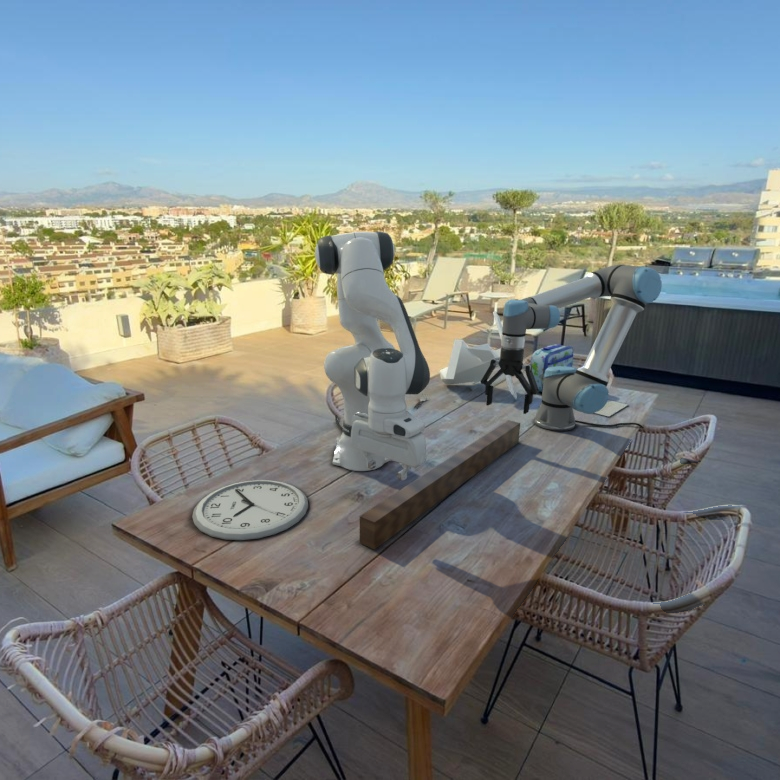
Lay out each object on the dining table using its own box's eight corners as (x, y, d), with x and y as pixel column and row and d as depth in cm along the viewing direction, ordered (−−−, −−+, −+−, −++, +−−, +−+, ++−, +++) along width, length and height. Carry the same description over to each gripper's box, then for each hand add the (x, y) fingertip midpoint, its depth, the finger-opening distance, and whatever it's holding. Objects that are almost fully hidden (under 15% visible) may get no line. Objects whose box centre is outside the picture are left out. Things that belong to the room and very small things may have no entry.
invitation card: (608, 416, 214) (573, 407, 224) (608, 416, 214) (573, 408, 224) (628, 404, 229) (594, 396, 238) (628, 405, 229) (594, 397, 238)
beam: (506, 439, 190) (508, 420, 188) (518, 442, 187) (520, 422, 185) (359, 542, 126) (359, 515, 124) (374, 549, 124) (374, 522, 121)
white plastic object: (461, 429, 252) (437, 405, 227) (444, 352, 274) (420, 323, 250) (535, 404, 240) (518, 377, 215) (510, 326, 262) (492, 293, 237)
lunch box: (545, 397, 238) (550, 352, 231) (524, 391, 245) (529, 348, 239) (572, 386, 255) (578, 344, 249) (552, 381, 262) (557, 340, 256)
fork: (411, 408, 219) (411, 404, 219) (422, 397, 234) (422, 393, 233) (417, 409, 219) (417, 404, 218) (427, 398, 233) (427, 394, 232)
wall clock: (304, 532, 127) (176, 536, 124) (304, 538, 127) (177, 542, 125) (311, 475, 155) (207, 478, 153) (311, 480, 156) (208, 483, 153)
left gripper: (344, 413, 125) (345, 466, 129) (415, 433, 113) (413, 490, 117) (361, 406, 130) (361, 457, 134) (430, 425, 118) (428, 480, 122)
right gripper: (473, 344, 177) (469, 403, 183) (544, 355, 162) (537, 419, 169) (483, 340, 182) (479, 398, 189) (553, 351, 168) (546, 413, 174)
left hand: (386, 473), depth 125 cm, fingers open, 8 cm apart
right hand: (507, 408), depth 179 cm, fingers open, 13 cm apart
